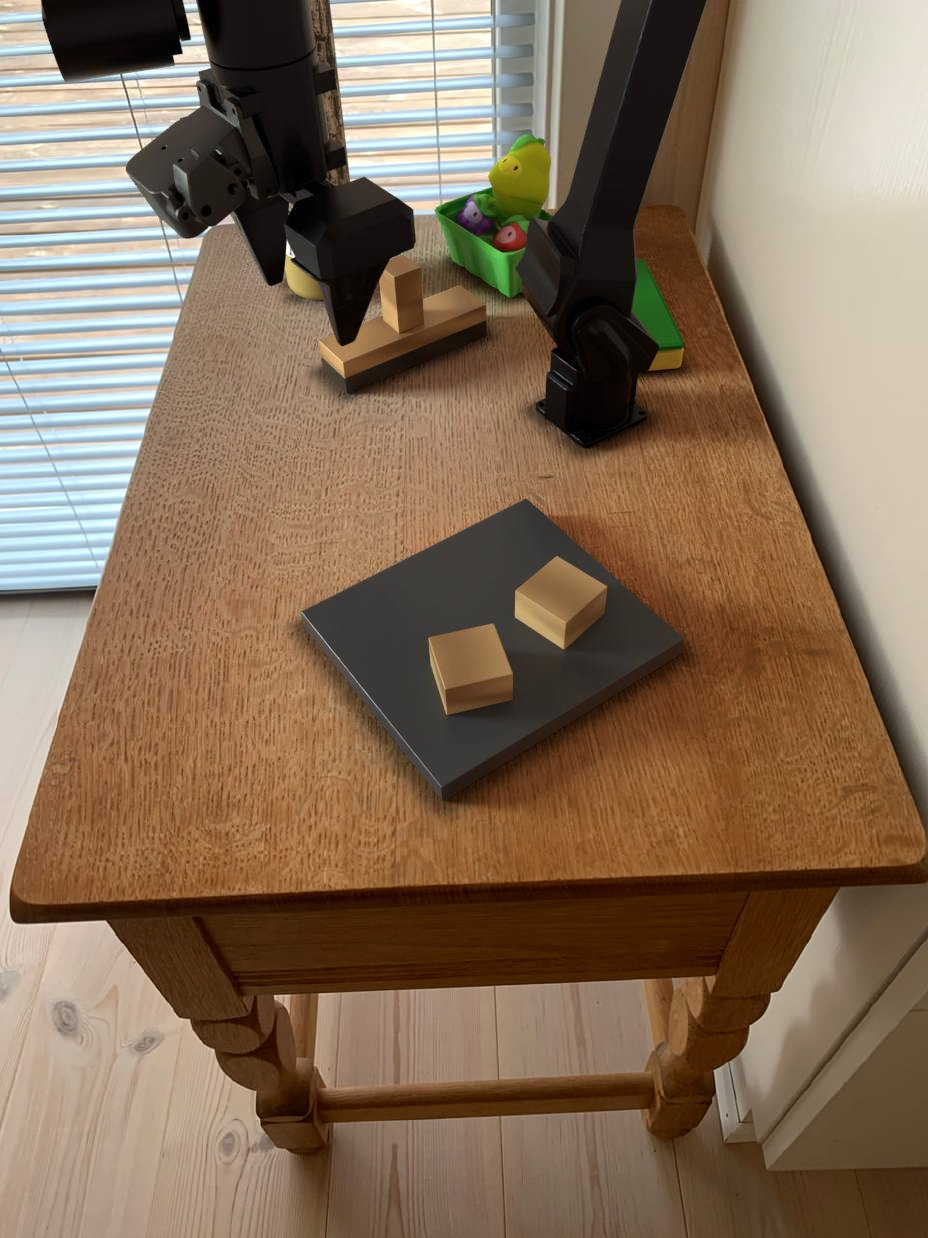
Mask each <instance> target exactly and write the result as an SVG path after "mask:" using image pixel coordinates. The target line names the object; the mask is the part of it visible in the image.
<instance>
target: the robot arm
mask: <svg viewBox="0 0 928 1238" xmlns="http://www.w3.org/2000/svg"><path fill="white" fill-rule="evenodd" d="M708 1H709V0H620V3H619V7H618V11H617V14H616V18H615V22H614V25H613V29H612V31H611V36H610V40H609V43H608V47H607V51H606V55H605V57H604V58H605V59H604V61H603V65H602V69H601V73H600V75H599V80H598V85H597V87H596V90H595V92H596V93H595V95H594V99H593V103H592V106H591V110H590V113H589V116H588V122H587V124H586V128H585V132H584V135H583V140H582V143H581V147H580V150H579V153H578V157H577V162H576V165H575V168H574V172H573V176H572V181H571V183H570V186H569V190H568V194H567V196H566V199H565V201H564V202H563V204H562V205H561V206H560V207H559V208H558V210H557V211H556V212H555V213H554V214H553V215H552V216H553V217H552V218H551V219H550V220H549V221H545V220H541V219H538V218H531V219H530V222H529V224H528V229H527V241H526V247H525V251H524V253H523V256H522V258H521V260H520V261H519V263H518V264H517V266H516V268H515V270H516V271H517V273H518V274H519V276H520V277H521V279H522V285H521V286H522V292H521V293H522V294H523V296H524V298H525V300H526V302H527V303H528V305H529V307H530V308H531V309H532V311H533V312H534V313H535V315H536V317H537V318H538V320H539V321H540V323H541V324H542V326H543V327H544V329H545V331H546V332H547V334H548V335H549V337H550V339H551V340H552V341H553V343H554V344H555V346H556V347H554V348H552V349H550V365H549V371H548V372H546V375H545V377H546V378H545V396H544V397H545V398H543V399H541V400H538V401H537V402H536V403H535V411H536V412H537V413H539V414H540V415H541V416H542V417H544V418H545V419H546V421H549V422H550V423H551V424H552V425H553V426H555V427H556V428H557V429H559V431H561V432H562V433H563V434H565V435H566V436H567V437H569V438H570V439H571V440H572V441H574V442H575V443H576V444H577V445H578V446H580V447H581V448H583V449H591V448H593V447H595V446H596V445H599V444H601V443H603V442H605V441H606V440H607V441H608V440H609V439H611V438H613V437H614V436H618V435H619V434H621V433H623V432H625V431H627V430H629V429H632V428H633V427H636V426H637V425H639V424H641V423H644V422H645V421H647V420H648V417H649V412H648V410H646V409H645V408H644V407H642V406H641V405H640V404H638V403H637V402H636V397H637V389H638V381H639V374H643V373H647V372H649V371H648V370H649V369H650V367H651V365H652V362H653V360H654V358H655V356H656V354H657V352H658V350H659V345H658V343H657V342H656V341H655V340H654V338H653V337H652V336H651V334H650V333H649V332H648V331H647V329H646V328H645V327H644V325H643V324H642V323H641V322H640V320H639V319H638V318H637V316H636V315H635V314H634V313H633V311H632V305H633V300H634V294H635V288H636V282H637V267H636V259H637V252H636V250H637V249H636V233H635V231H636V229H635V228H636V223H637V219H638V217H639V214H640V210H641V207H642V204H643V201H644V197H645V195H646V192H647V189H648V185H649V182H650V179H651V176H652V173H653V170H654V167H655V164H656V161H657V158H658V154H659V151H660V149H661V145H662V142H663V139H664V137H665V133H666V130H667V128H668V127H667V126H668V125H669V121H670V117H671V116H672V115H671V114H672V111H673V109H674V105H675V102H676V100H677V96H678V93H679V90H680V87H681V84H682V81H683V78H684V75H685V71H686V68H687V65H688V62H689V59H690V56H691V54H692V50H693V48H694V44H695V41H696V38H697V35H698V32H699V28H700V26H701V22H702V19H703V16H704V13H705V10H706V7H707V4H708ZM195 3H196V7H197V12H198V16H199V21H200V25H201V30H202V35H203V40H204V44H205V48H206V53H207V57H208V62H209V66H210V67H209V68H206V69H203V70H199V71H198V76H199V80H196V82H195V87H196V91H197V96H198V100H199V107H198V108H197V109H196V110H194V111H192V112H191V113H190V114H188V115H186V116H182V117H180V118H179V119H178V120H177V121H175V122H174V123H172V124H171V125H169V127H167V128H166V129H165V130H164V131H162V132H161V133H160V134H159V135H158V136H156V137H155V138H154V139H152V141H150V142H149V143H147V144H146V145H145V146H144V147H143V148H142V149H140V150H138V152H137V153H135V154H134V155H133V156H132V157H131V158H130V159H129V160H128V162H127V163H126V164H125V172H126V174H127V176H128V177H129V178H130V180H131V181H132V183H133V184H134V185H135V187H136V188H137V189H138V191H139V192H140V194H141V195H142V197H143V198H144V199H145V201H146V202H147V203H148V205H149V206H150V208H151V209H152V210H153V211H154V213H155V214H156V216H157V217H158V218H159V220H161V221H163V222H164V223H166V224H167V225H168V226H169V227H170V228H171V229H172V230H173V231H174V232H175V233H176V234H177V235H178V236H179V237H180V238H182V239H185V240H187V239H189V240H191V239H194V238H197V237H199V236H200V235H202V234H203V233H205V232H206V230H208V229H209V227H211V228H214V227H217V225H219V224H220V223H221V222H222V221H224V220H225V219H226V218H227V217H228V216H229V215H230V217H231V219H232V221H233V222H234V224H235V226H236V228H237V230H238V231H239V234H240V235H241V237H242V240H243V242H244V243H245V245H246V247H247V249H248V251H249V253H250V255H251V257H252V260H253V261H254V263H255V265H256V266H257V269H258V271H259V272H260V274H261V276H262V278H263V280H264V282H265V284H266V285H268V287H274V286H277V285H279V284H282V282H283V281H284V275H285V261H286V248H287V242H288V244H289V246H290V248H291V250H292V252H293V254H294V256H295V257H294V258H292V259H290V260H291V262H292V263H293V264H295V265H296V266H297V267H298V268H300V269H301V270H302V271H303V272H305V273H306V274H307V275H309V276H310V277H311V278H312V279H314V280H315V281H317V282H318V284H319V288H320V291H321V294H322V297H323V300H322V301H323V304H324V307H325V311H326V313H327V317H328V320H329V324H330V326H331V329H332V332H333V334H334V335H335V337H336V340H337V343H338V344H339V345H340V346H346V345H348V344H350V343H352V342H354V341H355V340H356V338H357V335H358V332H359V330H360V327H361V325H362V323H364V320H365V317H366V314H367V311H368V309H369V307H370V304H371V301H372V299H373V296H374V294H375V291H376V289H377V286H378V284H379V280H380V278H381V276H382V274H383V272H384V270H385V268H386V266H387V264H388V262H389V260H391V259H394V258H396V257H399V256H401V254H404V253H405V252H409V251H410V250H413V249H414V248H415V245H416V242H417V238H416V236H417V235H416V225H415V213H414V208H412V207H411V206H410V205H408V204H407V203H405V202H404V201H403V200H401V199H400V198H398V197H397V196H395V195H394V194H392V193H390V192H389V191H387V190H386V189H384V188H383V187H381V186H380V185H378V184H377V183H375V182H374V181H372V180H370V179H369V178H368V177H366V176H361V177H359V178H356V179H354V180H350V182H348V183H345V184H343V185H340V186H336V185H335V184H334V183H332V182H331V181H329V180H328V179H326V178H327V177H328V174H327V172H328V171H331V170H333V169H336V168H339V167H342V166H345V165H347V162H346V154H345V147H344V146H342V145H341V144H339V143H337V142H336V141H334V140H333V139H331V138H329V133H328V126H327V119H326V112H325V105H324V98H323V93H325V92H329V91H332V90H335V89H337V85H336V78H335V70H334V68H332V67H330V66H328V65H326V64H324V63H323V62H321V61H319V60H318V56H317V49H316V42H315V35H314V28H313V21H312V14H311V7H310V0H195ZM40 6H41V20H42V24H43V27H44V31H45V33H46V37H47V39H48V42H49V45H50V49H51V51H52V54H53V57H54V59H55V62H56V65H57V68H58V70H59V72H60V73H59V74H60V75H61V77H62V80H63V82H64V83H66V84H67V83H73V82H80V81H87V80H93V79H94V80H95V79H99V78H105V77H113V76H120V75H124V74H125V75H126V74H132V73H138V72H143V71H151V70H152V71H153V70H157V69H158V70H159V69H163V68H169V67H171V68H172V67H175V66H176V63H175V58H174V56H180V55H184V52H183V48H182V42H188V41H192V35H191V30H190V25H189V21H188V17H187V11H186V7H185V3H184V0H40ZM289 203H291V204H292V205H294V206H293V208H292V209H291V211H290V213H289Z"/></svg>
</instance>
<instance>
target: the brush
mask: <svg viewBox="0 0 928 1238" xmlns="http://www.w3.org/2000/svg"><path fill="white" fill-rule="evenodd" d="M422 283H423V282H422V268H421V266H420V265H418V264H417V263H416V262H414V261H413V260H412V259H411V258H409V257H408V256H406V255H404V254H402V255H398V256H396V257H393V258H390V260H389V262H388V264H387V266H386V268H385V270H384V272H383V274H382V276H381V278H380V280H379V282H378V284H379V291H380V292H379V293H380V300H381V311H382V315H379V316H376V317H374V318H371V319H369V320H366V321H363V322H362V325H361V327H360V330H359V332H358V335H357V338H356V340H355V341H354V342H352V343H350V344H348V345H346V346H340V345H339V344H338V343H337V340H336V337H335V335H334V333H333V334H330V335H328V336H326V337H323V338H321V339H318V346H319V352H320V358H321V359H320V360H321V364H322V372H324V373H325V374H326V376H328V377H329V378H330V379H331V380H332V381H333V382H334V383H335V384H336V385H337V386H338V387H339V388H340V389H341V390H342V391H344V393H346V394H347V395H349V394H350V393H353V392H355V391H358V390H360V389H363V388H365V387H367V386H369V385H372V384H375V383H377V382H379V381H381V380H384V379H386V378H389V377H392V376H393V375H396V374H398V373H401V372H402V371H405V370H408V369H410V368H413V367H415V366H417V365H419V364H422V363H424V362H426V361H430V360H432V359H433V358H436V357H438V356H441V355H443V354H445V353H448V352H451V351H453V350H455V349H458V348H460V347H462V346H465V345H468V344H469V343H471V342H475V341H477V340H479V339H481V338H484V337H486V336H487V304H486V303H485V302H483V300H481V299H480V298H478V297H476V296H475V295H474V294H472V293H471V292H470V291H469V290H467V289H465V288H464V287H463V286H462V285H460V284H457V285H456V286H453V287H450V288H447V289H446V290H443V291H440V292H438V293H435V294H432V295H430V296H428V297H425V298H424V296H423V294H424V293H423V284H422Z"/></svg>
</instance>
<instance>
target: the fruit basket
mask: <svg viewBox="0 0 928 1238" xmlns="http://www.w3.org/2000/svg"><path fill="white" fill-rule="evenodd" d="M545 144H546V140H545V139H544V138H542V137H538V138H537V137H535V136H534V135H533V134H530V133H525V134H523V135H521V136H519V138H518V139H516V140H515V142H514V143H513V144H512V147H510V148H509V152H508V154H506V155H504V156H502V157H501V158H500V159H499V160H498V161H496V162H495V164H494V165H493V166H492V168H491V169H490V171H489V174H488V176H487V178H488V181H489V183H490V186H491V187H487V188H484V189H482V190H479V191H474V192H472V193H469V194H466V195H464V196H461V197H457V198H455V199H452V200H450V201H446V202H444V203H442V204H439V205H438V206H436V207H435V208H434V213H435V216H436V218H437V221H438V223H440V225H441V229H442V232H443V236H444V238H445V242H446V245H447V248H448V250H449V254H450V258H451V260H452V262H454V263H456V264H457V265H459V266H460V267H462V268H465V269H466V270H467V271H468V272H469V273H471V274H472V275H474V276H475V277H477V278H481V280H482V281H483V282H484V283H486V284H487V285H489V286H491V287H492V288H495V289H497V290H498V291H499V292H500V293H501V294H503V295H504V296H506V297H507V298H513V297H515V296H516V295H518V294H521V293H523V292H522V286H521V285H522V279H521V277H520V276H519V274H518V273H517V271H516V270H515V268H516V266H517V264H518V263H519V261H520V260H521V258H522V256H523V253H524V251H525V247H526V241H527V229H528V224H529V222H530V219H531V218H538V219H541V220H545V221H549V220H550V219H551V218H552V217H553V215H552V214H550V213H549V212H547V211H546V210H544V209H543V207H544V205H545V204H546V201H547V199H548V196H549V192H550V170H551V165H552V157H551V155H550V153H549V151H548V149H547V148H546V147H545Z"/></svg>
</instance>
